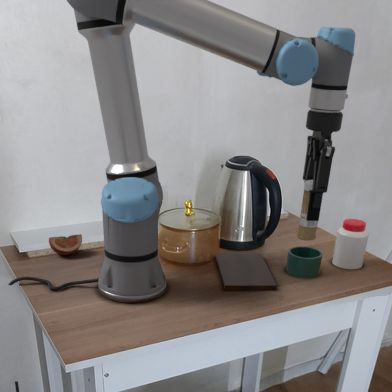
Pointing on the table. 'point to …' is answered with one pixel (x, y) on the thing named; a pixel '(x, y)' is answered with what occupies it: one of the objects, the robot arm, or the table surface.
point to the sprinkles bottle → (306, 227)
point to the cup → (304, 262)
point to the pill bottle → (350, 244)
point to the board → (244, 272)
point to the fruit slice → (65, 244)
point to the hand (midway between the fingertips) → (309, 216)
